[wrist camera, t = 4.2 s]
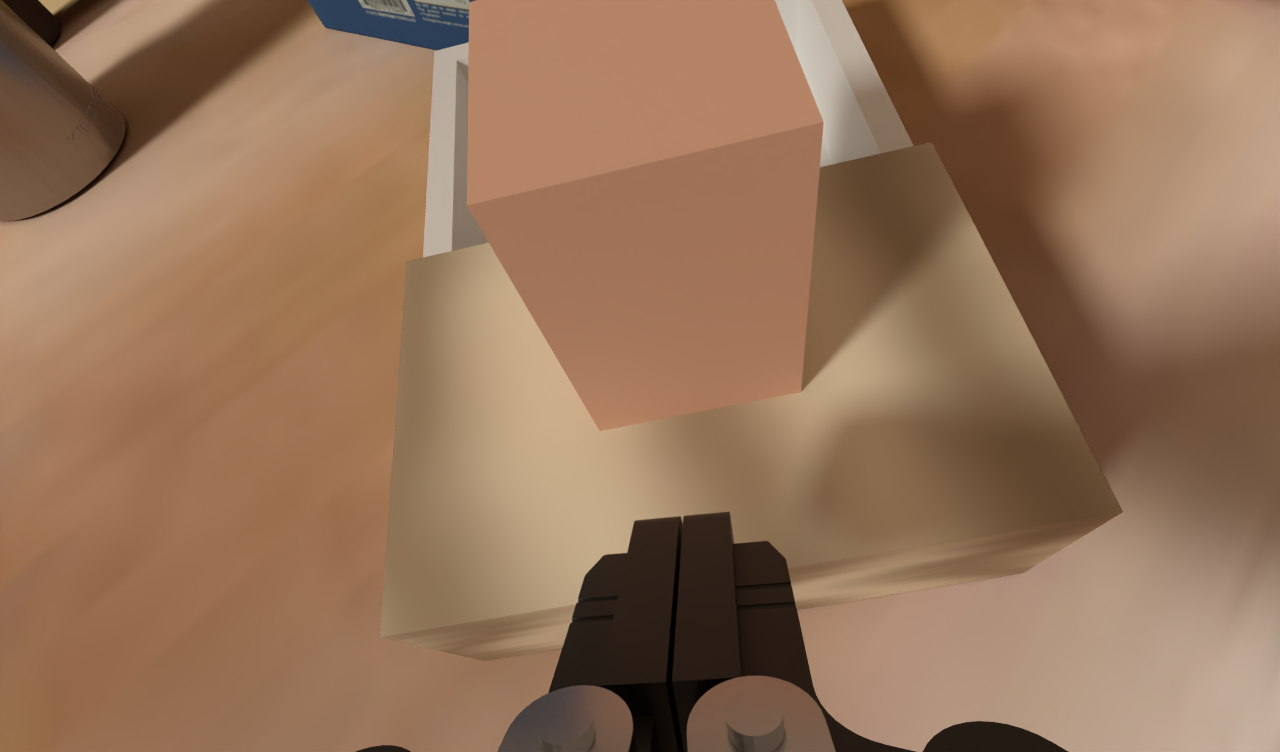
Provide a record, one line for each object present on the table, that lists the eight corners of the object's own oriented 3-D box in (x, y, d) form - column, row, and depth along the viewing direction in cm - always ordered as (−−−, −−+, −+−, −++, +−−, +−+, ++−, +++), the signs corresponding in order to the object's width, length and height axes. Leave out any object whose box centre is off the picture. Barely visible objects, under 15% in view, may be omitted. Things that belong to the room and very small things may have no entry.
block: (599, 431, 16) (467, 205, 9) (583, 274, 18) (469, 2, 11) (801, 392, 15) (824, 121, 9) (756, 236, 18) (746, -72, 11)
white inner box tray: (482, 353, 25) (422, 275, 21) (481, 144, 31) (434, 50, 27) (895, 266, 24) (922, 163, 19) (811, 64, 30) (817, -49, 25)
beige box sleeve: (483, 660, 20) (380, 637, 14) (482, 357, 25) (406, 261, 20) (1022, 573, 18) (1122, 512, 13) (896, 270, 24) (931, 142, 18)
